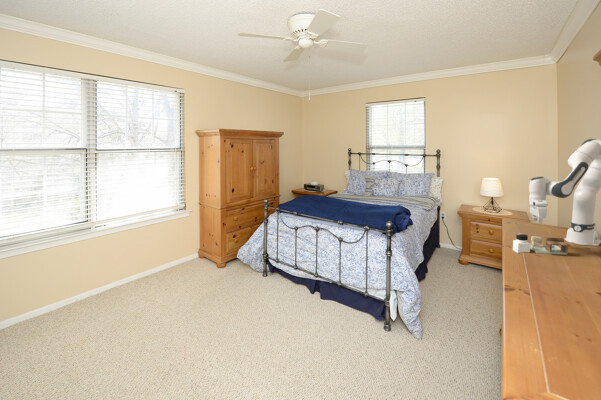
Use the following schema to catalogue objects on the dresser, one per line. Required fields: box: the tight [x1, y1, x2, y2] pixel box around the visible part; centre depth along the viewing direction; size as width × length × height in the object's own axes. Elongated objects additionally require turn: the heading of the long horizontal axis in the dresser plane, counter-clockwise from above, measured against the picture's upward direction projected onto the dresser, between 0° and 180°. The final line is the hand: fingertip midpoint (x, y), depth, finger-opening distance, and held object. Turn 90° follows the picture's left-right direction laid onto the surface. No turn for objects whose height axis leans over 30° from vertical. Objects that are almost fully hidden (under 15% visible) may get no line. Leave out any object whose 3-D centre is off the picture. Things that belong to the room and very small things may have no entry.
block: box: [530, 235, 543, 247], centre depth 202 cm, size 4×4×6 cm
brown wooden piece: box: [545, 236, 569, 254], centre depth 190 cm, size 9×7×8 cm
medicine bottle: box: [512, 233, 531, 254], centre depth 199 cm, size 7×7×12 cm
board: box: [530, 243, 568, 256], centre depth 198 cm, size 16×15×3 cm
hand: (537, 222), depth 200 cm, fingers open, 8 cm apart
